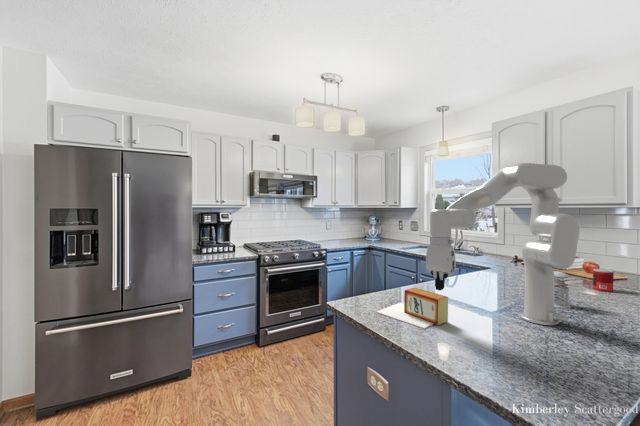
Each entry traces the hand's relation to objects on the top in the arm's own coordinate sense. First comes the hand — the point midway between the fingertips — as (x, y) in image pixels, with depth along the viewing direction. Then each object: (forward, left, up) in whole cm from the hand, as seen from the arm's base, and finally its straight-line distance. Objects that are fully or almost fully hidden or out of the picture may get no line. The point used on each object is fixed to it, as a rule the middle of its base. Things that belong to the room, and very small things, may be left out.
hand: (439, 289), depth 112 cm
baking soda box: (-1, -1, -8) cm, 8 cm away
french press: (-24, -63, -13) cm, 69 cm away
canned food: (-36, -111, -13) cm, 117 cm away
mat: (+12, 0, -13) cm, 18 cm away
